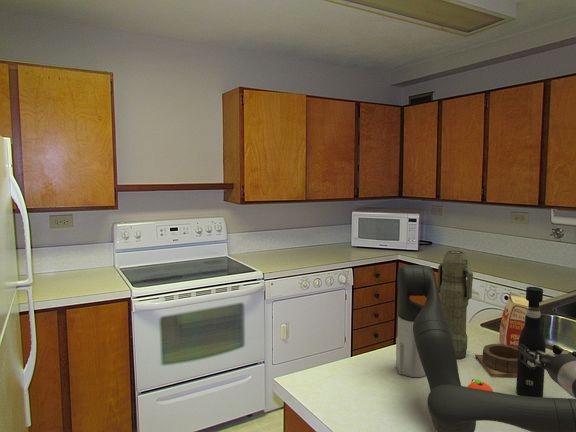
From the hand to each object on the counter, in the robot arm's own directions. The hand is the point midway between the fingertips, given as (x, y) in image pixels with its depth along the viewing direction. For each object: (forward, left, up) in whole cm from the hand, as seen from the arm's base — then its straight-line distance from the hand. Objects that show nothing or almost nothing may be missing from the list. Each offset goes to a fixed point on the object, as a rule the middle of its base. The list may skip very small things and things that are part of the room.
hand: (537, 347), depth 109 cm
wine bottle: (0, +2, -15) cm, 15 cm away
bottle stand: (0, +18, -14) cm, 23 cm away
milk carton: (+10, +33, -15) cm, 38 cm away
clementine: (-16, -5, -15) cm, 22 cm away
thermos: (-13, +27, -15) cm, 34 cm away
